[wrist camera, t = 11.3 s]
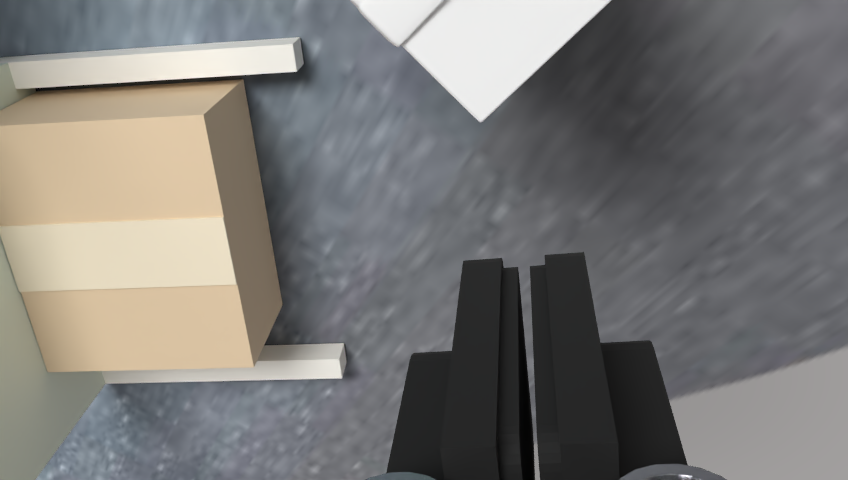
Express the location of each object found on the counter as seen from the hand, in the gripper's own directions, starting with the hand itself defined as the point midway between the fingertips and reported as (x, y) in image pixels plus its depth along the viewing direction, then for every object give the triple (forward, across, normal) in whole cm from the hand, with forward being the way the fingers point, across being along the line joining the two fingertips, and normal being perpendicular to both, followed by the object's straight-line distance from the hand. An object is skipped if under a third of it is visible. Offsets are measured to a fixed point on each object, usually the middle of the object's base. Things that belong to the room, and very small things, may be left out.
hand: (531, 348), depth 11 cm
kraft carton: (+25, +18, +7) cm, 32 cm away
